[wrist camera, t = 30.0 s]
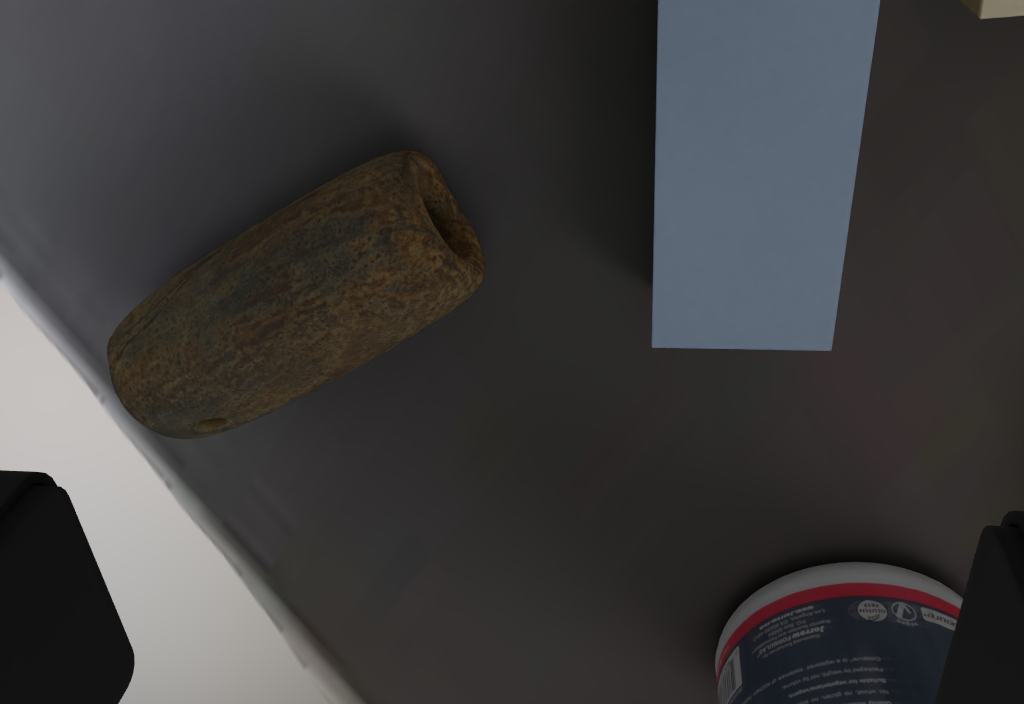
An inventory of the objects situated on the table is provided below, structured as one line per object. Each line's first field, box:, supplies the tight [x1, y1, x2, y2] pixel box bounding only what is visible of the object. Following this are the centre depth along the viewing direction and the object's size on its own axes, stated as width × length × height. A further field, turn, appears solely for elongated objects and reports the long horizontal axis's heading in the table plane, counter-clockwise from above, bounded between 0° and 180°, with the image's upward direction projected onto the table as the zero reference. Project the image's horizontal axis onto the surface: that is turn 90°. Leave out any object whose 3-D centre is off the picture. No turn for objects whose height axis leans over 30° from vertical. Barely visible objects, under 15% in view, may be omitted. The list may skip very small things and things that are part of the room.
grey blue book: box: [652, 0, 880, 351], centre depth 32 cm, size 12×6×4 cm, turn 4°
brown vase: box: [107, 150, 485, 439], centre depth 36 cm, size 15×7×7 cm, turn 127°
